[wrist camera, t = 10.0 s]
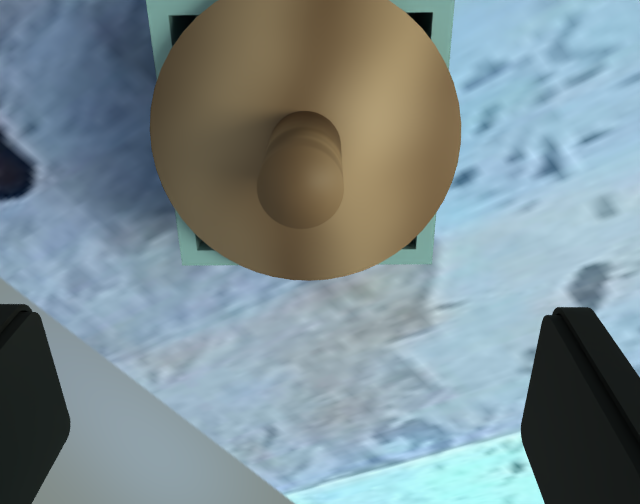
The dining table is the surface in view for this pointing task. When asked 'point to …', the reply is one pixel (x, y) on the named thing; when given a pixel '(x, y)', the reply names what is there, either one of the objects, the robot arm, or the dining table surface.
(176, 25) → the green square box
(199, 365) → the dining table surface
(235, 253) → the lid
